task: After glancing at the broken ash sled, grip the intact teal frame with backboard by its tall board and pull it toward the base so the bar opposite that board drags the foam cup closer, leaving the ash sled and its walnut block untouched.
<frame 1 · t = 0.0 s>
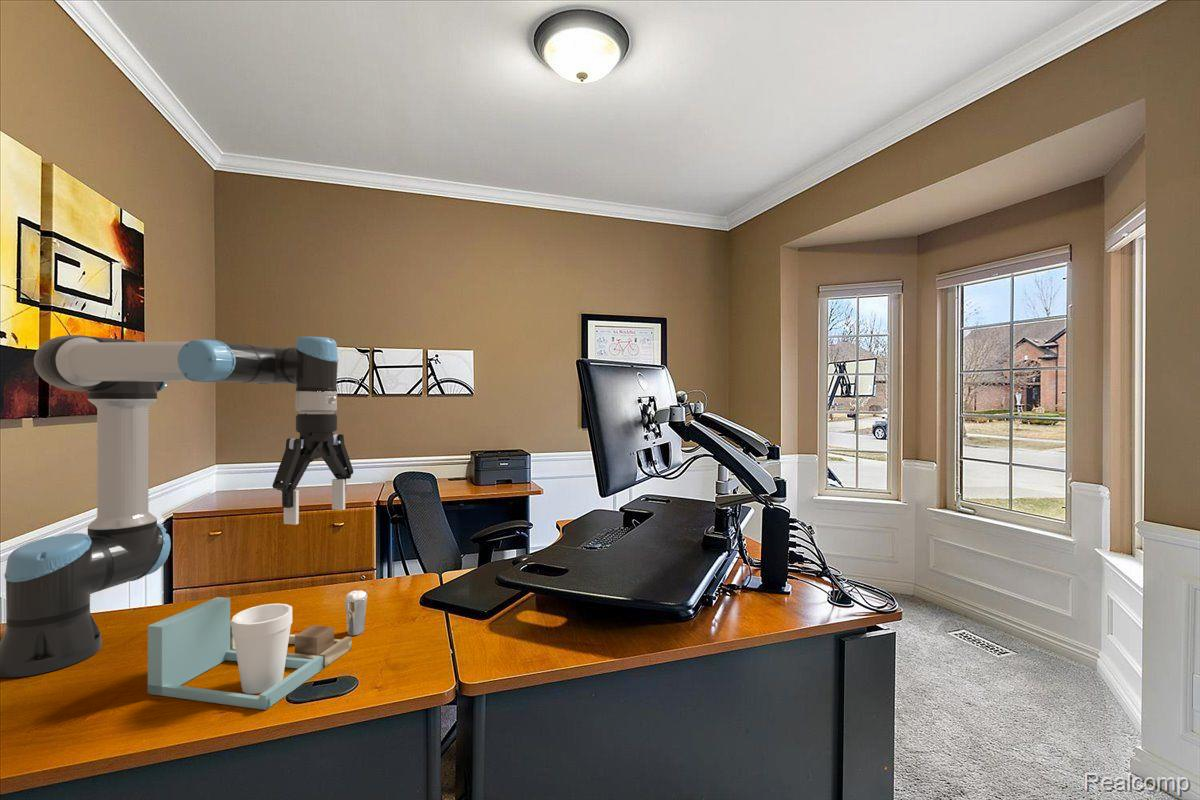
hand: (316, 516, 110), 28 cm above the table, fingers open, 13 cm apart
slat b front: (261, 634, 111), point 3 cm above the table, slide at 0.0 cm
teal frame with backboard: (239, 648, 99), point 6 cm above the table, slide at 0.0 cm
foam cup: (262, 685, 98), on the table
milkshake: (357, 633, 119), on the table
slat b rear: (316, 655, 109), on the table
walnut block: (314, 655, 109), resting in slat b rear
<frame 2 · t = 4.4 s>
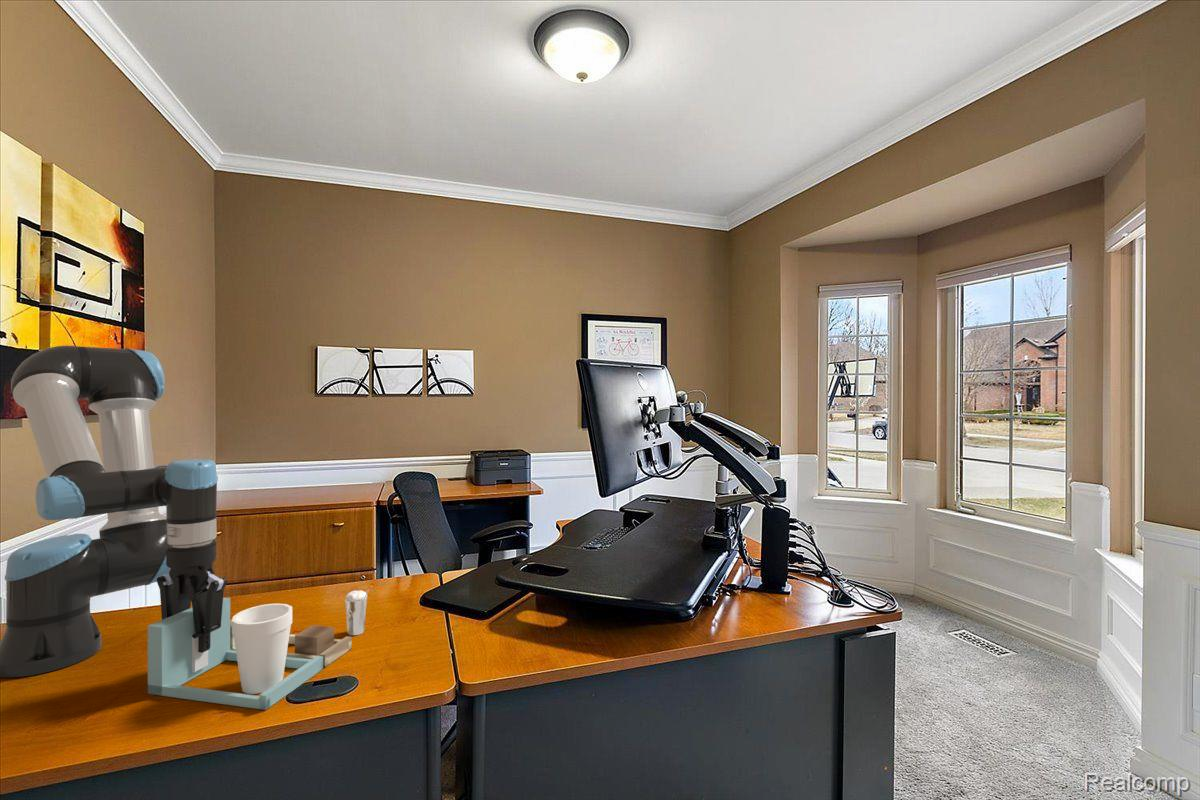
hand: (191, 666, 101), 2 cm above the table, fingers closed on teal frame with backboard, 3 cm apart
teal frame with backboard: (239, 648, 99), point 6 cm above the table, slide at 0.0 cm, touching gripper
everything else where it was.
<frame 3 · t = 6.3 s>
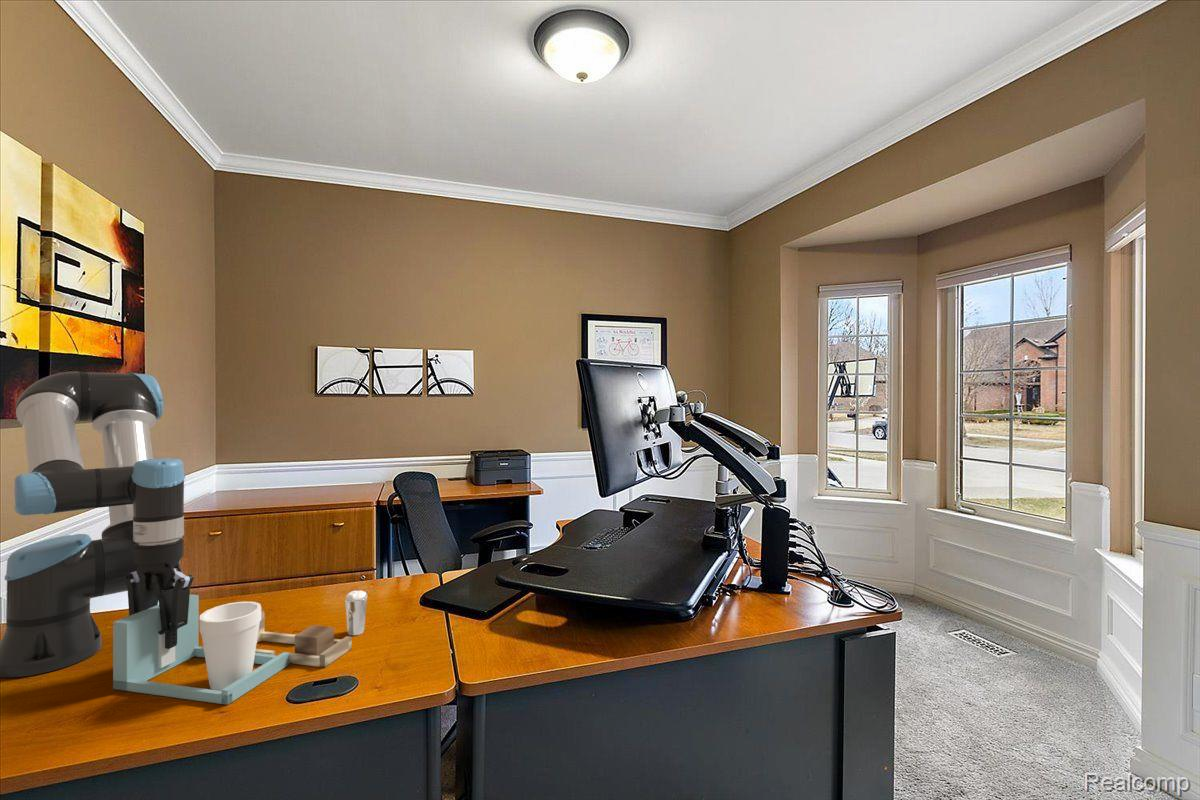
hand: (158, 662, 102), 2 cm above the table, fingers closed on teal frame with backboard, 3 cm apart
teal frame with backboard: (205, 644, 100), point 6 cm above the table, slide at 7.5 cm, touching foam cup, gripper
foam cup: (230, 682, 99), on the table, touching teal frame with backboard
everything else where it was.
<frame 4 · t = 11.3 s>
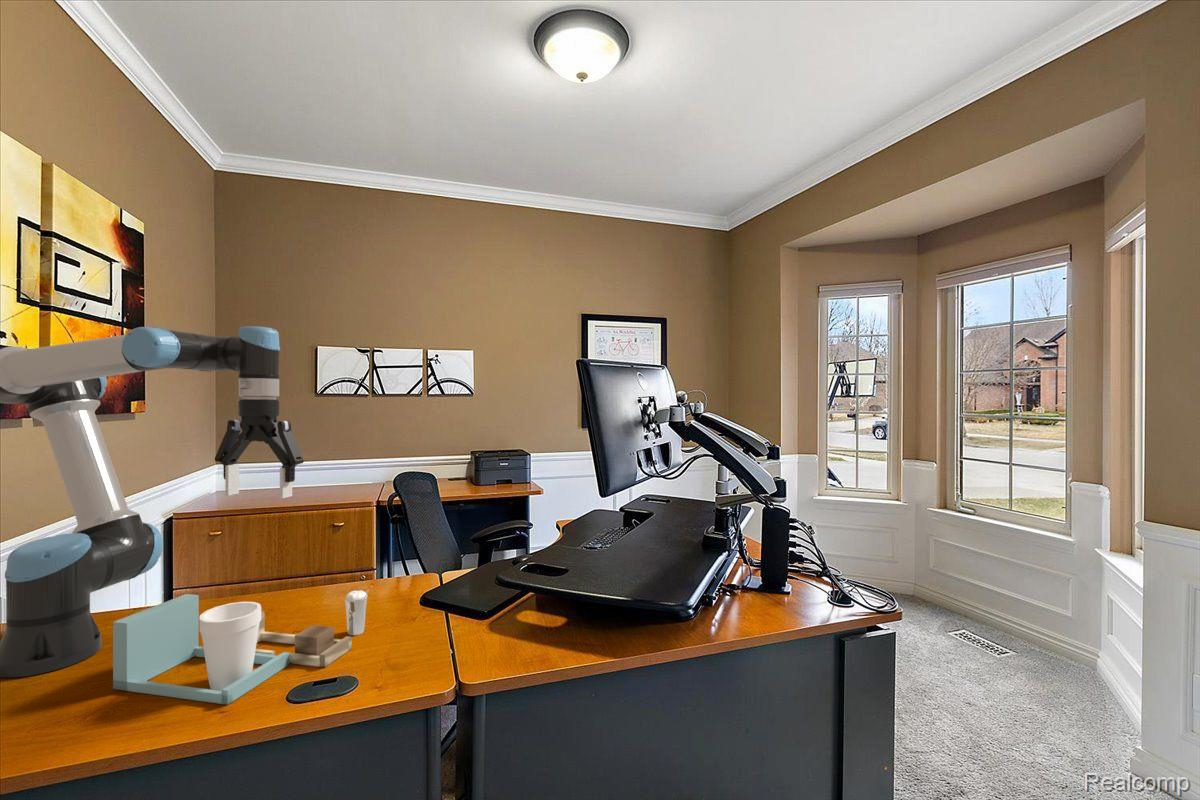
hand: (258, 495, 117), 31 cm above the table, fingers open, 13 cm apart
teal frame with backboard: (205, 644, 100), point 6 cm above the table, slide at 7.5 cm
foam cup: (230, 682, 99), on the table
everything else where it was.
at the end: teal frame with backboard slide at 7.5 cm; foam cup inside the target area (2.1 cm from its centre), on the table; foam cup tilted 0° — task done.
